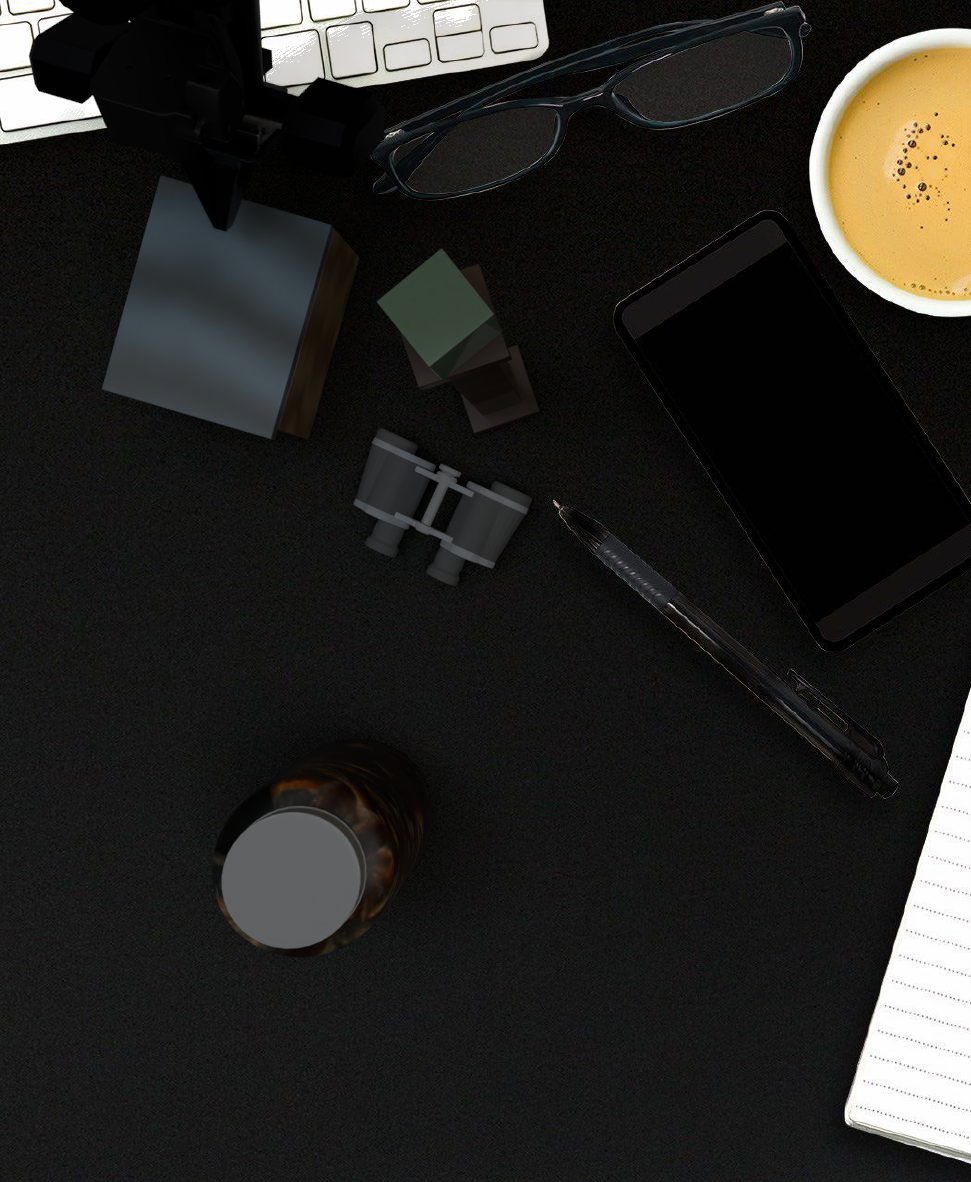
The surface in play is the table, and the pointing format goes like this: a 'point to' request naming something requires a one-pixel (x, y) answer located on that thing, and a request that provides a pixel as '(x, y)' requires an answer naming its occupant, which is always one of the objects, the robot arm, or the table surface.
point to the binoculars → (435, 508)
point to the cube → (441, 315)
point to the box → (319, 339)
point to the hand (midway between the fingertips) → (223, 227)
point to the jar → (322, 848)
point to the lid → (218, 310)
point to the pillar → (485, 375)
